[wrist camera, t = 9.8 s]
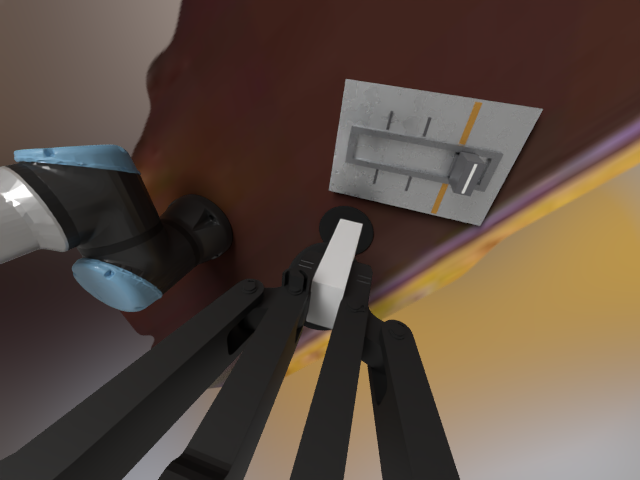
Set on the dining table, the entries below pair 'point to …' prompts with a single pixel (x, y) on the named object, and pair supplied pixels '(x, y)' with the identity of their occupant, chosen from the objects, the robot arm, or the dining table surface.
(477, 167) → the fader knob
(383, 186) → the console
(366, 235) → the wine glass
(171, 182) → the dining table surface
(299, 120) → the dining table surface
